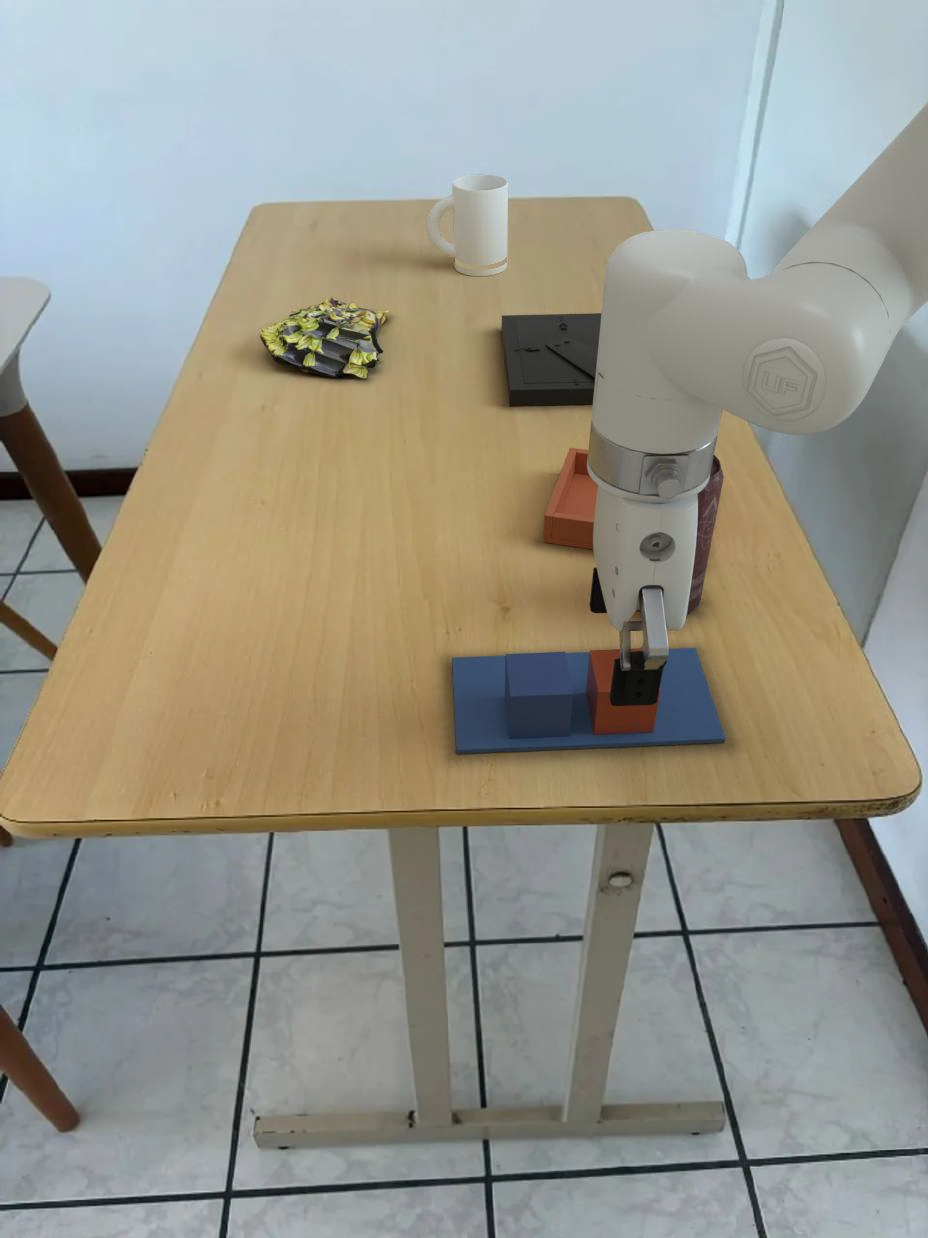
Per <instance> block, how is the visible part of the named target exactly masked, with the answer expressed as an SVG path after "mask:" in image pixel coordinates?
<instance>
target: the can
mask: <svg viewBox="0 0 928 1238" xmlns="http://www.w3.org/2000/svg"><path fill="white" fill-rule="evenodd" d="M723 484H724V472H723V468H722V464H721V461H720V459H719V458H718V457H717V456H716V455H715V454H714V457H713V462H712V467H711V472H710V478H709V481H708V483H707V485H706V486H705V488H704V489H703V490H702V491H700V492H699V493H697V495H698V524H697V539H696V549H695V558H694V566H693V574H692V581H691V588H690V595H689V602H688V609H687V615H690V614H691V613H692V612H693V611H694V610H696V608H697V607H699V605H700V602H701V599H702V593H703V589H704V583H705V579H706V578H705V577H706V573H707V568H708V562H709V557H710V551H711V545H712V541H713V536H714V531H715V525H716V520H717V514H718V509H719V504H720V498H721V495H722V490H723V489H722V488H723Z"/></svg>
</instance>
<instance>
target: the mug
mask: <svg viewBox="0 0 928 1238" xmlns="http://www.w3.org/2000/svg"><path fill="white" fill-rule="evenodd" d="M451 184H452V185H451V191H452V192H451V193H452V194H451V195H448V196H446V197H442V198H441V199H440V200H439V201H437V202H436V203H435V204H434V205H433V207H432V208H431V210H430V211H429V213H428V215H427V219H426V225H425V227H426V235H427V237H428V240H429V242H430V243H431V245H432V246H433V247H434V248H435V249H436V250H437V251H438V252H439V253H440V254H443V255H445V256H447V257H451V258H454V257H455V258H456V259H457V260H458V261H460V262H462V263H466V264H470V265H490V264H495V263H498V262H501V261H502V260H504V259H505V258H506V257H507V258H508V240H509V239H508V238H509V237H508V236H509V235H508V233H509V232H508V230H509V229H508V228H509V227H508V226H509V225H508V223H509V182H508V180H507V179H506V178H505V177H503V176H499V175H495V174H487V173H476V174H467V175H463V176H460V177H457V178H455V179H454V180H453V182H452V183H451ZM450 210H452V232H453V243H451V242H449V241H447V240H446V239H445V238H444V237H443V235H442V233H441V231H440V223H441V219H442V218H443V216H444V215H445V214H446V213H447V212H449V211H450ZM453 266H454V268H455V270H456V272H458V273H460V274H463V275H464V276H465V275H466V276H470V277H471V276H472V277H489V276H494V275H499V274H500V273H503V272H504V271H505V270H506V269H507V267H508V261H507V262H506V263H505V264H504V265H502V266H500V267H498V268H494V269H487V270H472V269H466V268H463V267H460V266H458V265H457V264H456V263H455V262H454V261H453Z"/></svg>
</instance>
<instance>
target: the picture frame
mask: <svg viewBox="0 0 928 1238" xmlns="http://www.w3.org/2000/svg"><path fill="white" fill-rule="evenodd" d="M601 314H602V312H600V313H594V312H593V313H554V314H553V313H552V314H513V315H512V314H509V315H507V314H506V315H503V314H502V315H501V337H502V339H501V340H502V348H503V356H504V364H505V365H504V366H505V375H506V384H507V394H508V400H509V407H537V406H539V407H542V406H543V407H545V406H583V405H586V406H588V405H593V397H594V387H595V376H596V366H597V356H598V345H599V335H600V324H601Z"/></svg>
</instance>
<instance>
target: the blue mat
mask: <svg viewBox="0 0 928 1238" xmlns="http://www.w3.org/2000/svg"><path fill="white" fill-rule="evenodd" d="M565 653H566V658H567V664H568V670H569V675H570V681H571V686H572V692H573V699H572V711H571V723H570V735H569V736H564V737H540V738H516V739H510V738H509V731H508V722H507V712H506V702H505V657H506V654H505V655H483V656H482V655H481V656H479V655H478V656H457V657H456V656H455V657H452V658H451V664H452V665H451V666H452V667H451V668H452V669H451V670H452V686H453V687H452V688H453V689H452V690H453V708H454V709H453V710H454V731H455V732H454V733H455V749H456V750H455V751H456V754H457V755H462V754H463V755H464V754H487V753H489V754H490V753H509V752H510V753H513V752H514V753H515V752H536V751H537V752H538V751H555V750H556V751H558V750H559V751H561V750H578V749H579V750H582V749H583V750H585V749H605V748H607V749H608V748H629V747H655V746H676V745H677V746H678V745H700V744H723V743H726V740H727V739H726V736H725V732H724V730H723V729H724V728H723V727H722V723H721V721H720V717H719V714H718V711H717V708H716V705H715V702H714V699H713V696H712V694H711V690H710V687H709V685H708V681H707V679H706V674H705V673H704V670H703V669H704V668H703V666H702V663H701V661H700V658H699V655H698V652H697V648H696V647H682V648H681V647H680V648H669V654H668V658H667V659H666V661H667V663H666V665H665V668H664V670H663V673H662V678H661V683H660V696H659V702H658V708H657V714H656V720H655V726H654V732H644V733H620V734H596V735H595V734H594V732H593V727H592V722H591V717H590V712H589V707H588V701H587V696H586V684H587V674H588V663H589V653H590V651H583V652H581V651H580V652H565Z"/></svg>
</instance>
